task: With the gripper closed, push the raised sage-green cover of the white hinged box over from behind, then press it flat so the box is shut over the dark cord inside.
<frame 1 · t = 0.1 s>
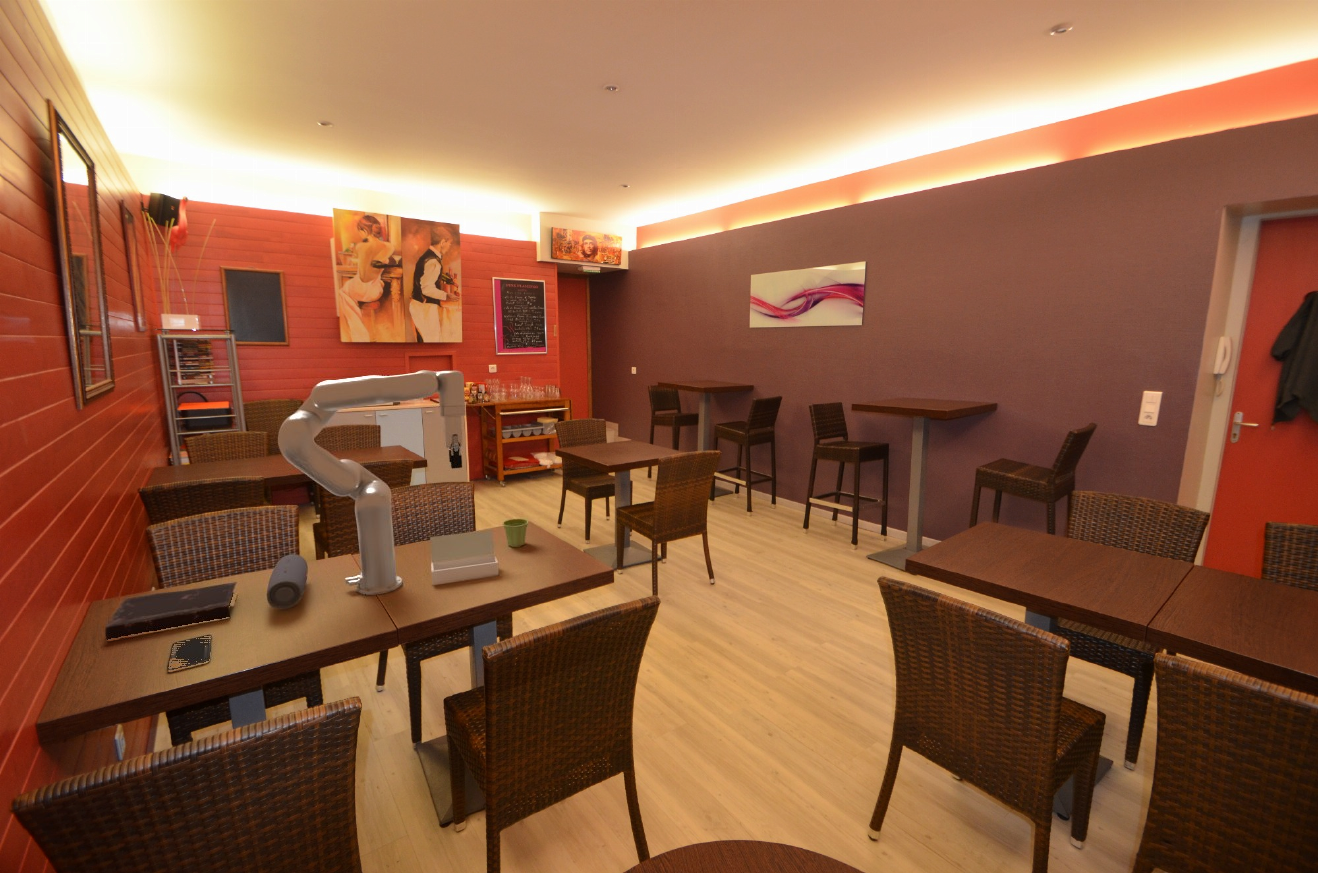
hand: (455, 464, 179), 37 cm above the table, tool pointing down, fingers open, 9 cm apart
plant pot: (516, 545, 213), on the table
bluetooth speaker: (290, 597, 169), on the table
duct cover: (462, 545, 188), point 8 cm above the table, hinge at 110.0°
phone: (191, 656, 138), on the table
white hinged box: (465, 575, 185), on the table
diary: (178, 618, 157), on the table
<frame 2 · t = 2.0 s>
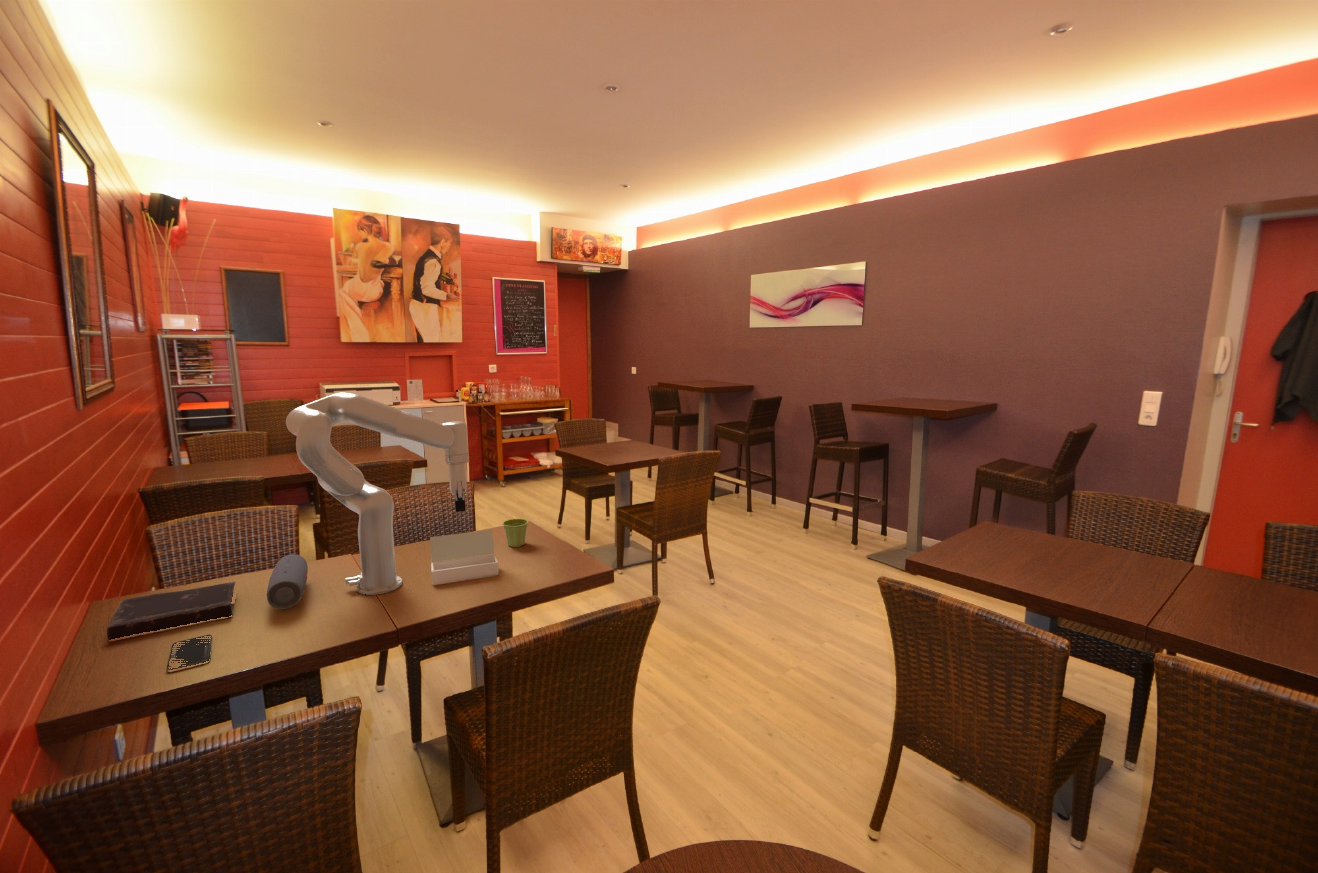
hand: (460, 510, 194), 18 cm above the table, tool pointing down, fingers closed
nothing on the table moved.
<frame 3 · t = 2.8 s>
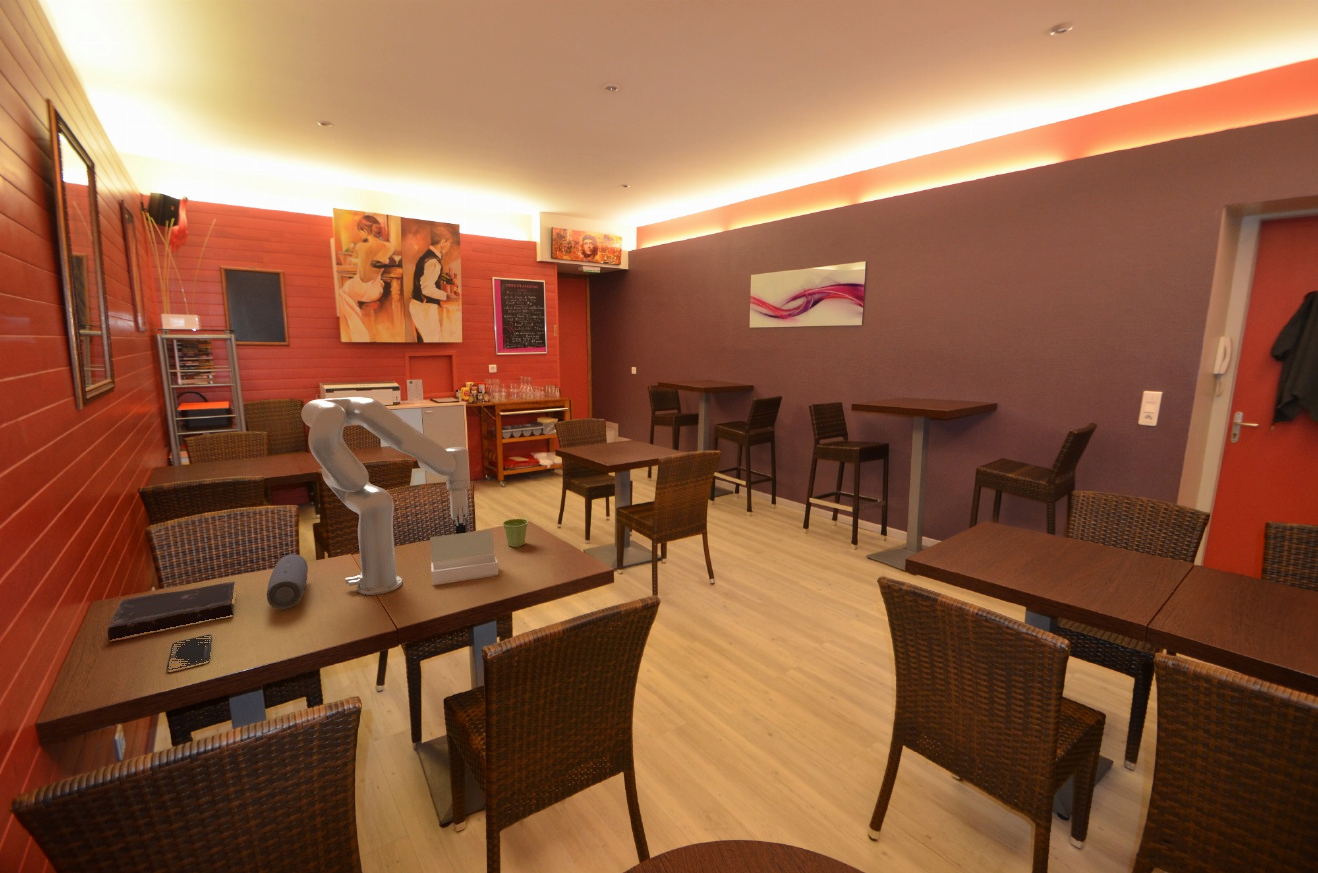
hand: (461, 535, 195), 9 cm above the table, tool pointing down, fingers closed
nothing on the table moved.
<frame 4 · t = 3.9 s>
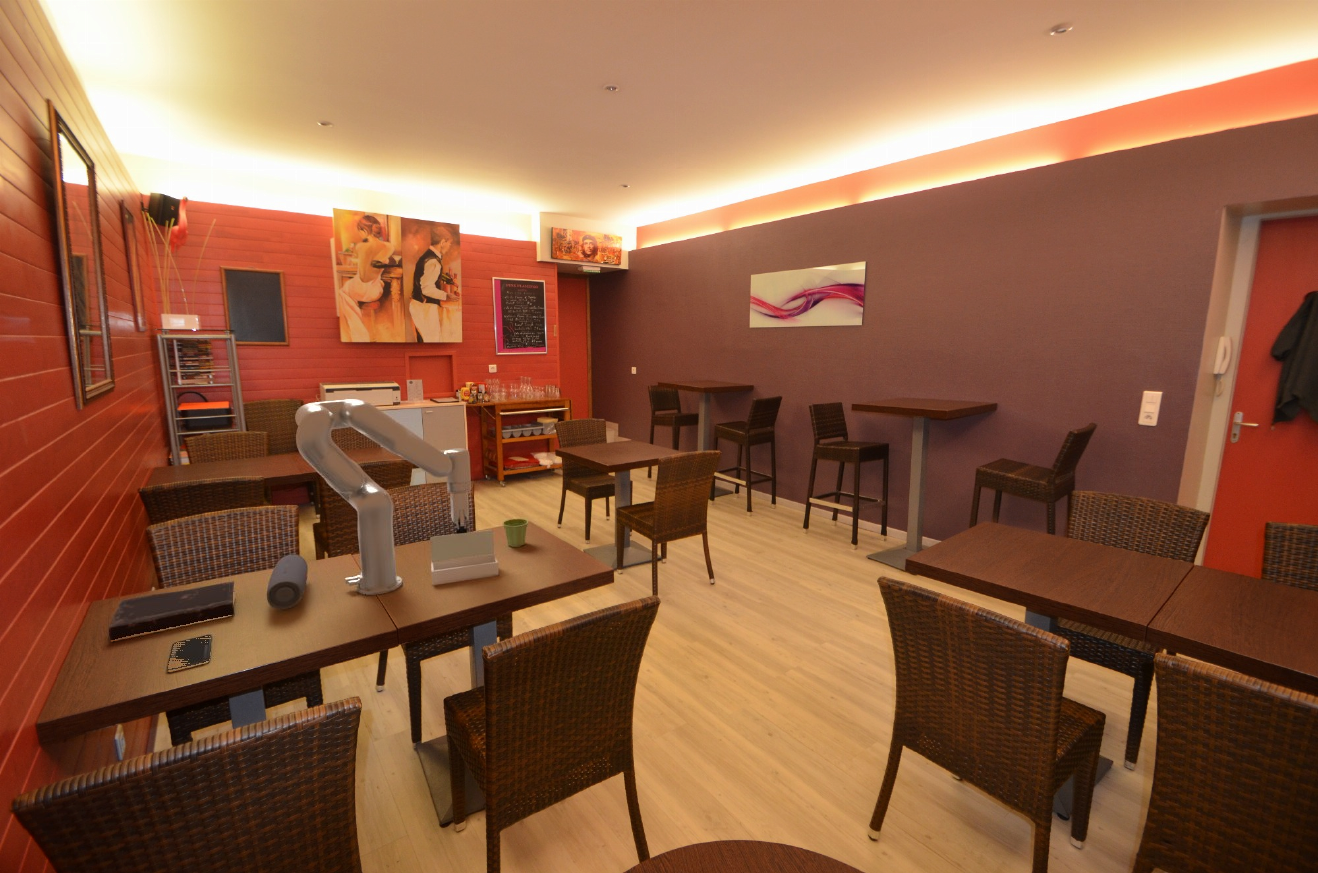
hand: (461, 539, 191), 10 cm above the table, tool pointing down, fingers closed
duct cover: (462, 545, 188), point 8 cm above the table, hinge at 101.4°, touching gripper
everything else where it was.
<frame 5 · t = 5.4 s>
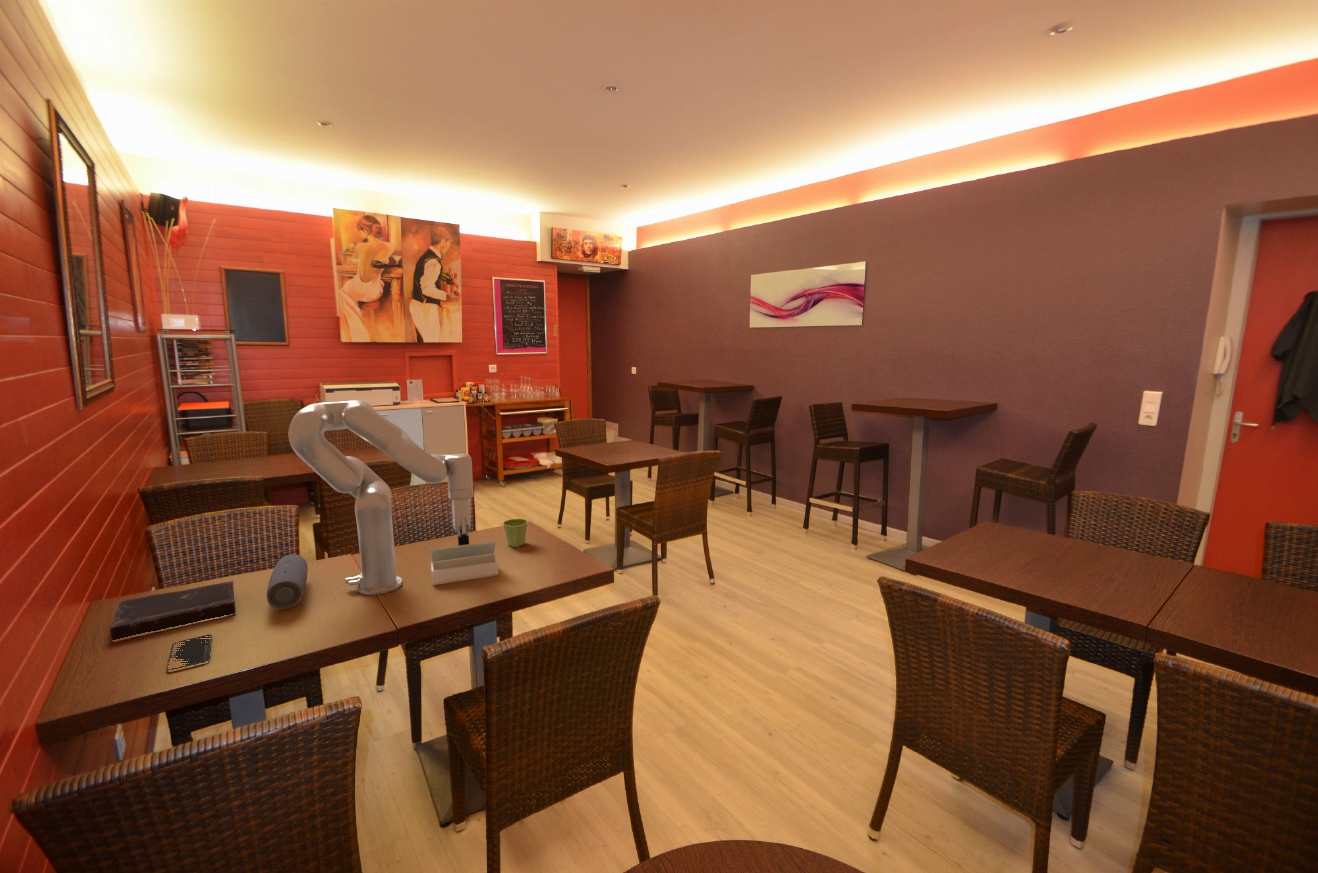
hand: (463, 547, 184), 9 cm above the table, tool pointing down, fingers closed
duct cover: (463, 551, 185), point 8 cm above the table, hinge at 46.1°, touching gripper
everything else where it was.
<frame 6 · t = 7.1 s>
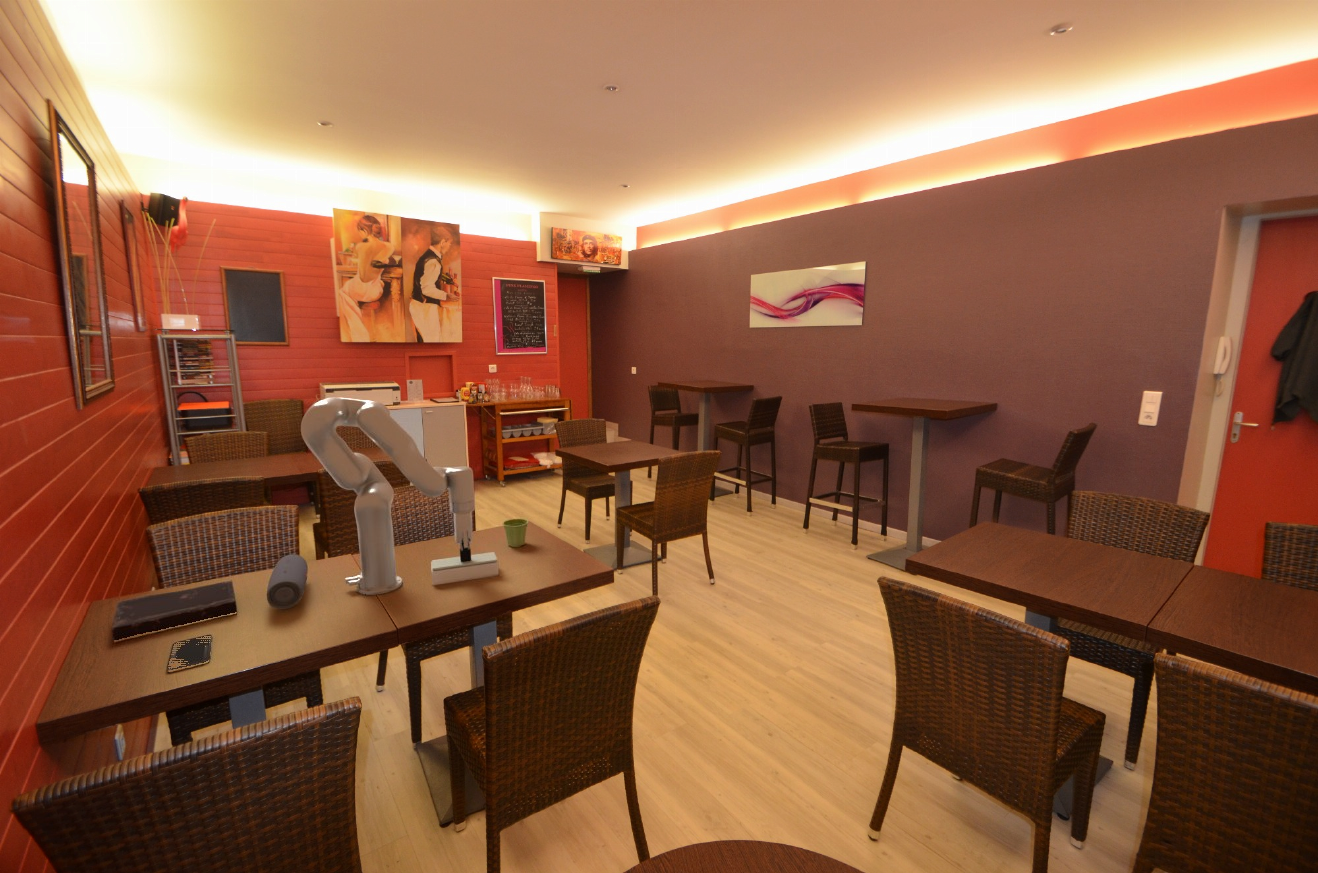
hand: (465, 560, 183), 5 cm above the table, tool pointing down, fingers closed
duct cover: (464, 560, 184), point 5 cm above the table, hinge at 1.8°, touching gripper
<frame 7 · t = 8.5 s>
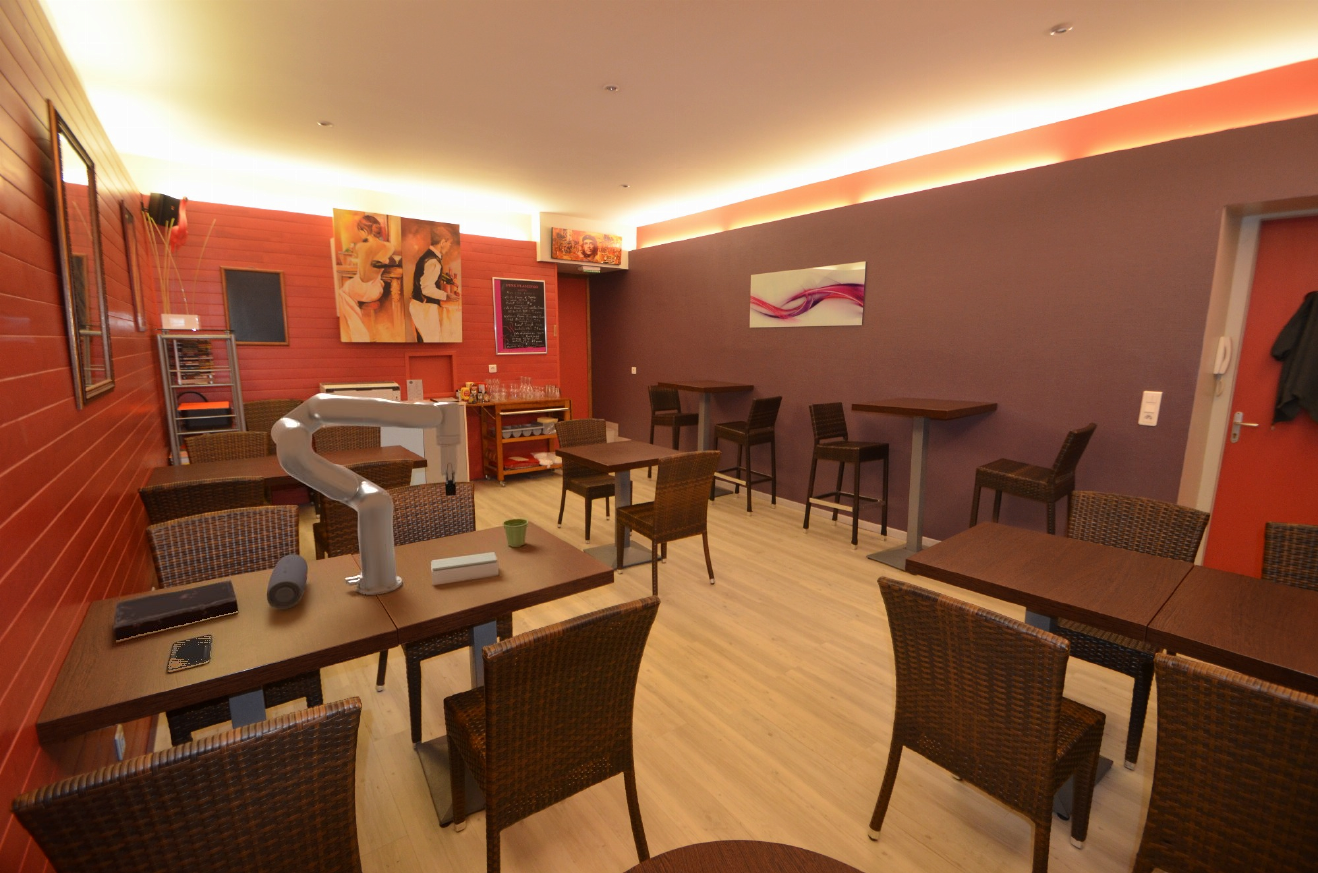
hand: (450, 494, 187), 25 cm above the table, tool pointing down, fingers closed
duct cover: (464, 560, 184), point 5 cm above the table, hinge at 1.8°
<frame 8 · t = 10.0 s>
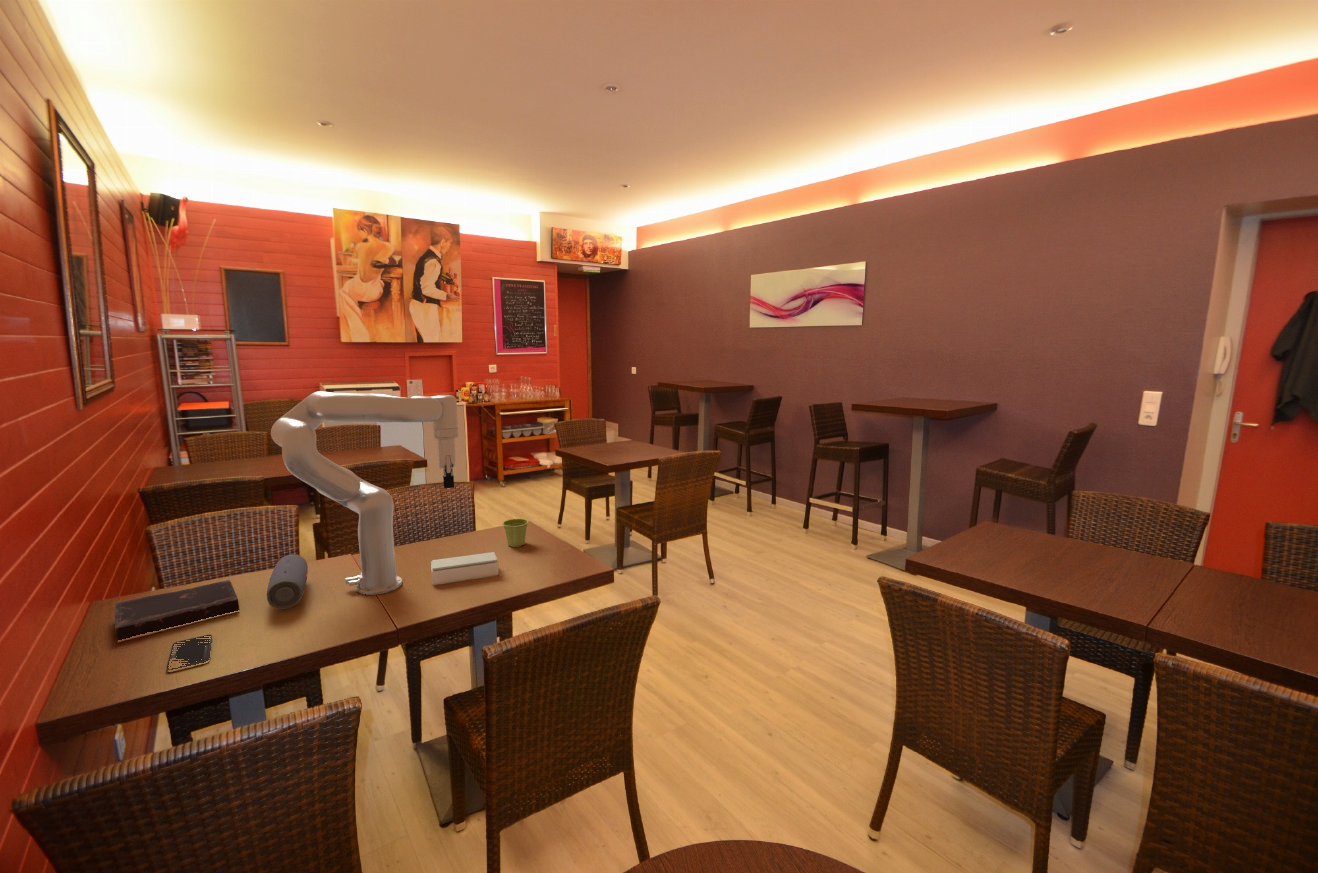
hand: (449, 487, 189), 27 cm above the table, tool pointing down, fingers closed
at the end: duct cover at +2° (first picture: +110°) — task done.
